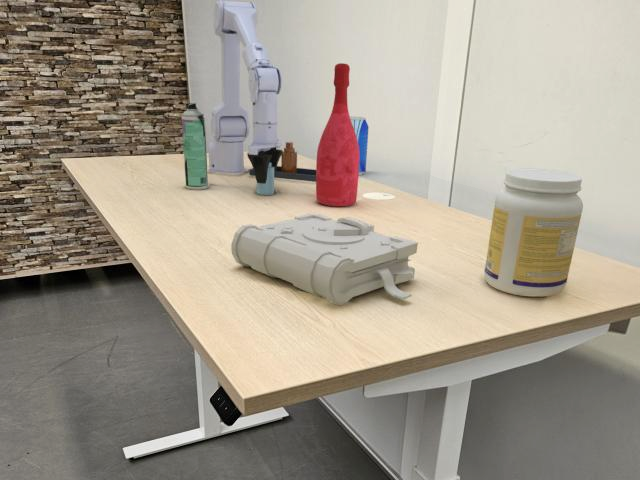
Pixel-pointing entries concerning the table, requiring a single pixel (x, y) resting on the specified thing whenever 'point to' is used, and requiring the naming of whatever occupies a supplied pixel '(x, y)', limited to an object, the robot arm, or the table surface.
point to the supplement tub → (534, 232)
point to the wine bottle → (338, 150)
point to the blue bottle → (267, 183)
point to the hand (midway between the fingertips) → (265, 181)
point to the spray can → (194, 148)
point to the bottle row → (289, 159)
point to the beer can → (361, 140)
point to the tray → (293, 174)
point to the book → (327, 256)
